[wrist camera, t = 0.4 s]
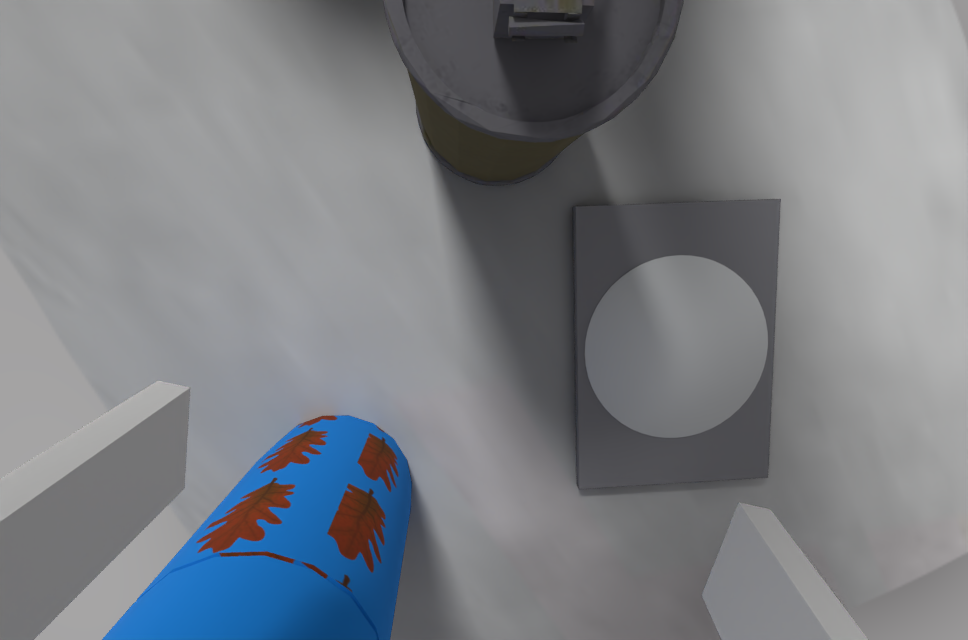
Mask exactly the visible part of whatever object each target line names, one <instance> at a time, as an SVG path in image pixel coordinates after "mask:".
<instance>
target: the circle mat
mask: <svg viewBox="0 0 968 640" xmlns="http://www.w3.org/2000/svg"><path fill="white" fill-rule="evenodd" d="M780 202H781V199H764V200H737V201H709V202H682V203H655V204H628V205H601V206H575V207H573V232H574V310H575V389H576V467H577V486H578V488H579V489H591V488H607V487H623V486H639V485H655V484H671V483H687V482H703V481H719V480H735V479H751V478H767V477H768V466H769V444H770V422H771V400H772V378H773V356H774V334H775V312H776V290H777V268H778V246H779V224H780Z"/></svg>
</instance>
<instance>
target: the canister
mask: <svg viewBox="0 0 968 640" xmlns="http://www.w3.org/2000/svg"><path fill="white" fill-rule="evenodd" d="M383 2H384V8H385V14H386V19H387V22H388V25H389V29H390V32H391V35H392V39H393V41H394V44H395V46H396V48H397V50H398V52H399V54H400V56H401V58H402V61H403V63H404V65H405V66H406V67H407V69H408V73H409V77H410V80H411V84H412V88H413V92H414V95H415V99H416V113H417V117H418V122H419V126H420V129H421V132H422V135H423V137H424V139H425V141H426V143H427V144H428V146H429V148H430V149H431V151H432V152H433V153H434V154H435V156H436V157H437V158H438V160H439V161H440V162H441V163H442V164H444V165H445V166H446V167H447V168H448V169H450V170H451V171H452V172H454V173H455V174H457V175H459V176H461V177H463V178H465V179H467V180H470V181H472V182H475V183H479V184H484V185H508V184H514V183H518V182H521V181H523V180H526V179H528V178H530V177H533V176H534V175H536V174H537V173H539V172H541V171H542V170H543V169H545V168H546V167H547V166H548V165H549V164H550V163H551V162H552V161H553V160H554V159H555V158H556V157H557V155H558V154H559V153H560V152H561V151H562V150H563V149H565V148H566V147H567V146H568V145H570V144H571V143H572V142H573V141H575V140H576V139H577V138H579V137H580V136H581V135H582V134H584V133H585V132H587V131H590V130H592V129H594V128H596V127H598V126H600V125H602V124H603V123H605V122H607V121H609V120H611V119H612V118H614V117H615V116H616V115H618V114H619V113H620V112H621V111H622V110H624V109H625V108H626V107H627V106H628V105H629V104H631V103H632V102H633V101H634V100H635V99H636V98H637V97H638V96H639V95H640V94H641V93H642V91H643V90H644V89H645V88H646V87H647V85H648V84H649V83H650V81H651V80H652V79H653V77H654V76H655V75H656V74H657V72H658V70H659V68H660V66H661V64H662V62H663V60H664V58H665V56H666V54H667V52H668V50H669V48H670V46H671V44H672V42H673V40H674V37H675V33H676V29H677V26H678V22H679V18H680V14H681V10H682V6H683V0H383Z"/></svg>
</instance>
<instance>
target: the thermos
mask: <svg viewBox="0 0 968 640" xmlns="http://www.w3.org/2000/svg"><path fill="white" fill-rule="evenodd" d="M411 488H412V482H411V477H410V472H409V468H408V463H407V459H406V458H405V456H404V454H403V453H402V451H401V450H400V448H399V447H398V445H397V443H396V442H395V440H394V439H393V438H392V437H390V436H389V435H388V434H386V433H385V432H384V431H383V430H381V429H380V428H379V427H377V426H376V425H375V424H373V423H370V422H367V421H364V420H361V419H358V418H355V417H352V416H321V417H318V418H316V419H313V420H310V421H307V422H305V423H302V424H299V425H298V426H296V427H295V428H294V429H293V430H292V431H290V432H289V433H288V434H287V435H286V436H284V437H283V438H282V439H281V440H280V441H279V442H277V443H276V444H275V445H274V446H273V447H272V448H271V449H270V450H269V451H268V452H267V453H266V454H265V455H264V456H263V457H261V458H260V459H259V460H258V461H257V462H256V463H255V465H254V466H253V467H252V468H251V469H250V470H249V471H248V473H247V474H246V475H245V476H244V477H243V478H242V479H241V481H240V482H239V483H238V484H237V485H236V486H235V488H234V489H233V490H232V491H231V492H230V493H229V494H228V496H227V497H226V498H225V499H224V500H223V501H222V502H221V504H220V505H219V506H218V507H217V508H216V509H215V510H214V512H213V513H212V514H211V515H210V516H209V517H208V519H207V520H206V521H205V522H204V523H203V524H202V525H201V527H200V528H199V529H198V530H197V531H196V532H195V533H194V535H193V536H192V537H191V538H190V539H189V540H188V541H187V543H186V544H185V545H184V546H183V547H182V549H181V550H180V551H179V552H178V553H177V554H176V555H175V556H174V558H173V559H172V560H171V561H170V562H169V563H168V564H167V566H166V567H165V568H164V569H163V570H162V571H161V573H160V574H159V575H158V576H157V577H156V578H155V579H154V580H153V582H152V583H151V584H150V585H149V586H148V588H147V589H146V590H145V591H144V592H143V593H142V594H141V595H140V597H139V598H138V599H137V601H136V602H135V603H133V605H132V606H131V607H130V608H129V609H128V610H127V611H126V613H125V614H124V615H123V616H122V617H121V618H120V620H119V621H118V622H117V623H116V624H115V626H113V628H112V629H111V630H110V631H109V632H108V633H107V635H106V636H105V637H104V638H103V639H102V640H390V637H391V630H392V624H393V617H394V611H395V605H396V598H397V592H398V586H399V579H400V573H401V567H402V560H403V554H404V548H405V541H406V535H407V529H408V522H409V516H410V510H411Z"/></svg>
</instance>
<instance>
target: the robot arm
mask: <svg viewBox="0 0 968 640" xmlns="http://www.w3.org/2000/svg"><path fill="white" fill-rule="evenodd" d="M189 401H190V387H186V386H181V385H176V384H171V383H167V382H162V381H156V382H155V383H153V384H152V385H150V386H148V387H147V388H145V389H143V390H142V391H140V392H139V393H137V394H135V395H134V396H132V397H131V398H129V399H127V400H126V401H124V402H123V403H121V404H119V405H118V406H116V407H115V408H113V409H111V410H110V411H108V412H106V413H105V414H103V415H102V416H100V417H98V418H97V419H95V420H94V421H92V422H90V423H89V424H87V425H86V426H84V427H82V428H81V429H79V430H78V431H76V432H74V433H73V434H71V435H69V436H68V437H66V438H65V439H63V440H61V441H60V442H58V443H57V444H55V445H53V446H52V447H50V448H49V449H47V450H45V451H44V452H42V453H40V454H39V455H38V456H36V457H34V458H32V459H31V460H29V461H28V462H26V463H24V464H23V465H21V466H20V467H18V468H16V469H15V470H13V471H11V472H10V473H8V474H7V475H5V476H4V477H2V478H0V640H34V639H35V638H36V637H37V636H38V635H39V634H40V633H41V632H42V631H43V630H44V629H45V628H46V627H47V626H48V625H49V624H50V623H51V622H52V621H53V620H54V619H55V618H56V617H57V616H58V615H59V614H60V613H61V612H62V611H63V610H64V609H65V608H66V607H67V606H68V605H69V604H70V603H71V602H72V601H73V600H74V599H75V598H76V597H77V596H78V595H79V594H80V593H81V592H82V591H83V590H84V589H85V588H86V587H87V585H89V584H90V583H91V582H92V581H93V580H94V579H95V578H96V577H97V576H98V575H99V574H100V573H101V571H103V570H104V569H105V568H106V566H108V565H109V564H110V562H111V561H113V560H114V559H115V558H116V557H117V556H118V555H119V554H120V553H121V552H122V551H123V549H125V548H126V546H127V545H129V544H130V542H131V541H133V540H134V538H136V536H137V535H138V534H139V533H141V531H142V530H144V528H145V527H146V526H147V525H148V524H149V523H150V522H151V521H152V520H153V519H154V518H155V517H156V516H157V515H158V514H159V513H160V512H161V511H162V510H163V509H164V508H165V507H166V506H167V505H168V504H169V503H170V502H171V501H172V500H173V499H174V498H175V497H176V496H177V495H178V494H179V493H180V492H181V491H182V490H183V489H184V488H185V471H186V453H187V436H188V419H189ZM702 597H703V600H704V602H705V604H706V606H707V609H708V611H709V613H710V615H711V618H712V620H713V622H714V624H715V627H716V629H717V631H718V633H719V636H720V638H721V640H868V638H867V637H866V636H865V634H864V633H863V632H862V630H861V629H860V628H859V626H858V625H857V624H856V622H855V621H854V620H853V618H852V617H851V616H850V615H849V613H848V612H847V610H846V609H845V608H844V606H843V605H842V604H841V602H840V601H839V600H838V598H837V597H836V596H835V595H834V593H833V592H832V591H831V589H830V588H829V587H828V585H827V584H826V583H825V581H824V580H823V579H822V577H821V576H820V575H819V573H818V572H817V571H816V569H815V568H814V567H813V565H812V564H811V563H810V561H809V560H808V559H807V557H806V556H805V555H804V553H803V552H802V551H801V549H800V548H799V547H798V545H797V544H796V543H795V541H794V540H793V539H792V537H791V536H790V535H789V533H788V532H787V531H786V530H785V528H784V527H783V526H782V524H781V523H780V522H779V520H778V519H777V518H776V516H775V515H774V514H773V512H772V511H771V510H770V509H768V508H763V507H758V506H753V505H749V504H744V503H738V505H737V508H736V510H735V513H734V515H733V518H732V520H731V523H730V525H729V528H728V530H727V533H726V535H725V538H724V540H723V543H722V545H721V548H720V550H719V553H718V555H717V558H716V560H715V563H714V565H713V568H712V570H711V573H710V575H709V578H708V580H707V583H706V585H705V588H704V590H703V593H702Z"/></svg>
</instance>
